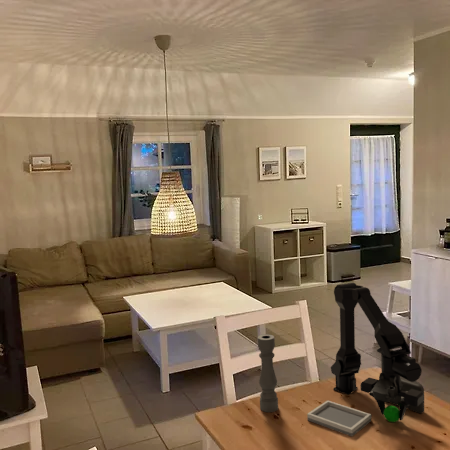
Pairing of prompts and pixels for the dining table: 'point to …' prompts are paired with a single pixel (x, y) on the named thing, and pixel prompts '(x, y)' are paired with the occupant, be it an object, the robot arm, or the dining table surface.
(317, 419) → the tray
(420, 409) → the leaning round-cornered charcoal block
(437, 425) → the dining table surface
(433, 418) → the dining table surface
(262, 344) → the candle holder
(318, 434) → the dining table surface
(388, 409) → the polyhedron
